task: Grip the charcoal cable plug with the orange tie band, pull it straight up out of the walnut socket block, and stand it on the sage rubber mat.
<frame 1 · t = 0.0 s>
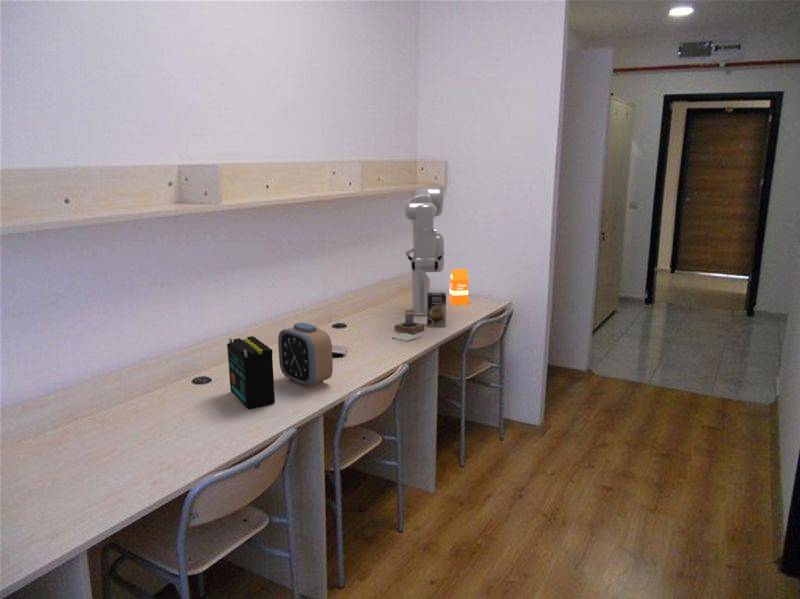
hand: (424, 270, 276), 31 cm above the table, tool pointing down, fingers open, 9 cm apart
coffee box: (436, 325, 302), on the table
socket block: (409, 330, 293), on the table
plug: (409, 331, 293), resting in socket block
alarm clock: (306, 382, 227), on the table
orange juice: (458, 304, 346), on the table
battery: (252, 398, 213), on the table
mat: (405, 337, 282), on the table
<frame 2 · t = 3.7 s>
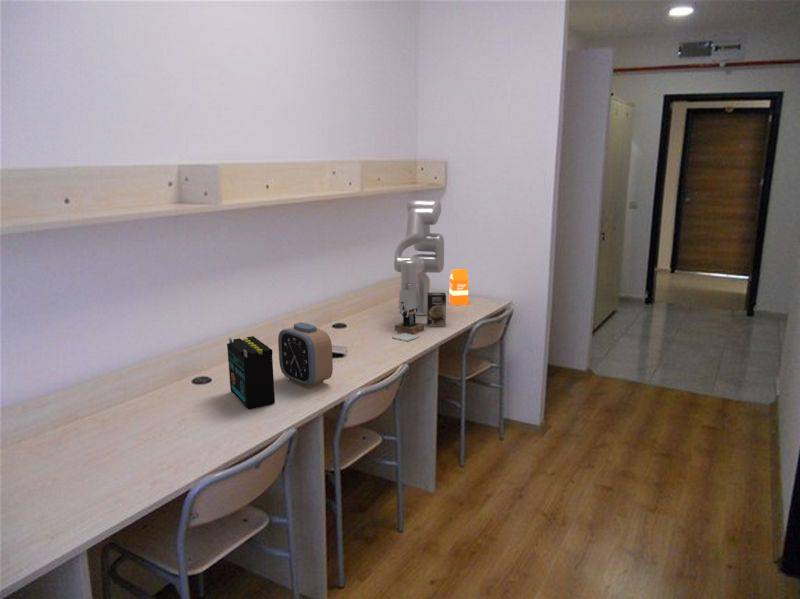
hand: (409, 323, 292), 4 cm above the table, tool pointing down, fingers closed on plug, 4 cm apart
plug: (409, 331, 293), resting in socket block, touching gripper
everything else where it was.
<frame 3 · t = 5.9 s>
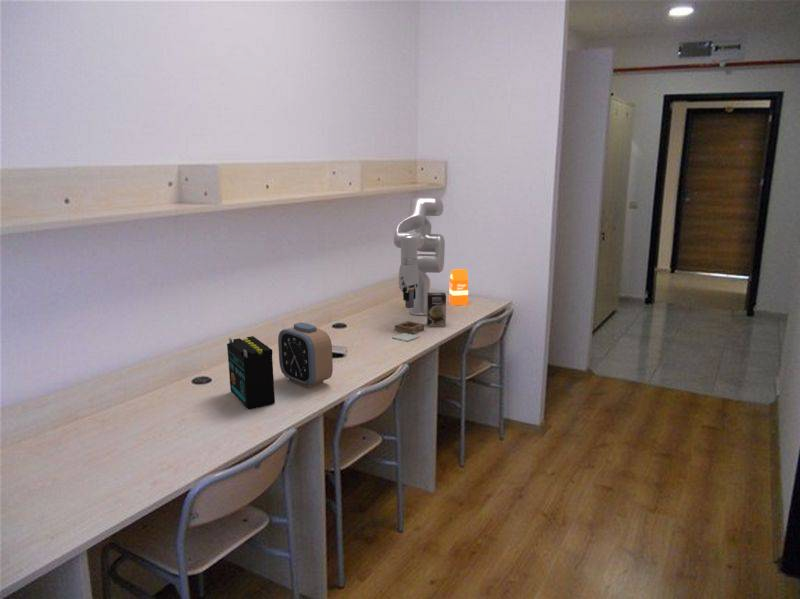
hand: (409, 299, 290), 16 cm above the table, tool pointing down, fingers closed on plug, 4 cm apart
plug: (409, 307, 291), point 12 cm above the table, touching gripper
everything else where it was.
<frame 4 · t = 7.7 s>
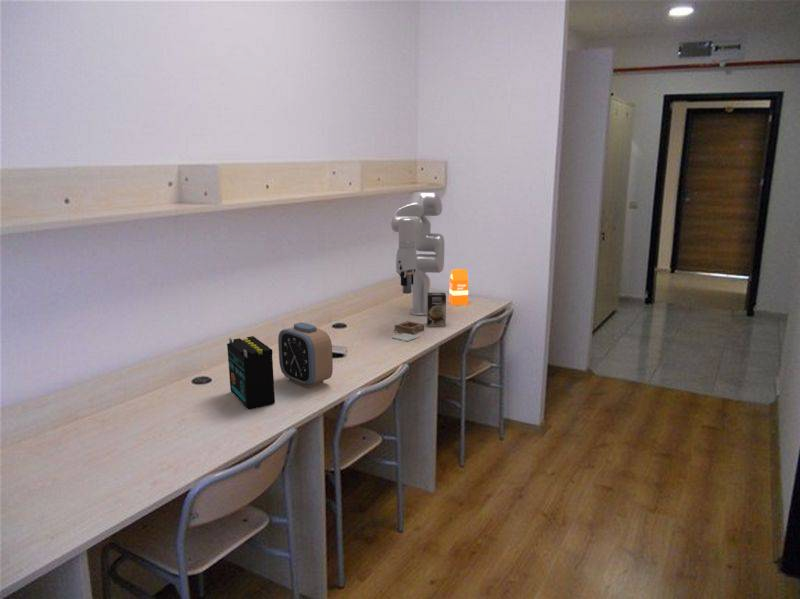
hand: (407, 284, 281), 24 cm above the table, tool pointing down, fingers closed on plug, 4 cm apart
plug: (407, 292, 282), point 20 cm above the table, touching gripper
everything else where it was.
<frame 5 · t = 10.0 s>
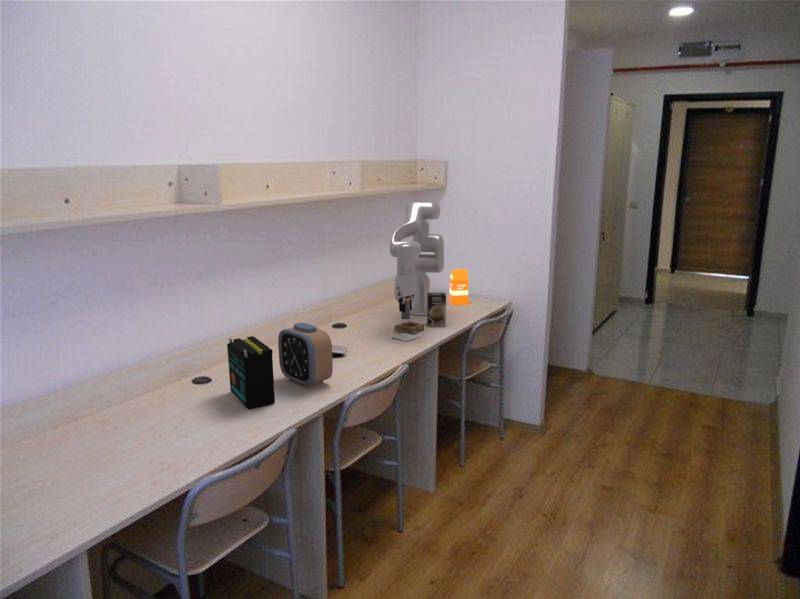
hand: (405, 310, 279), 13 cm above the table, tool pointing down, fingers closed on plug, 4 cm apart
plug: (405, 318, 279), point 9 cm above the table, touching gripper
everything else where it was.
when the fingers open (6 cm above the table, at t = 12.1 s): plug drops 2 cm, resting on mat.
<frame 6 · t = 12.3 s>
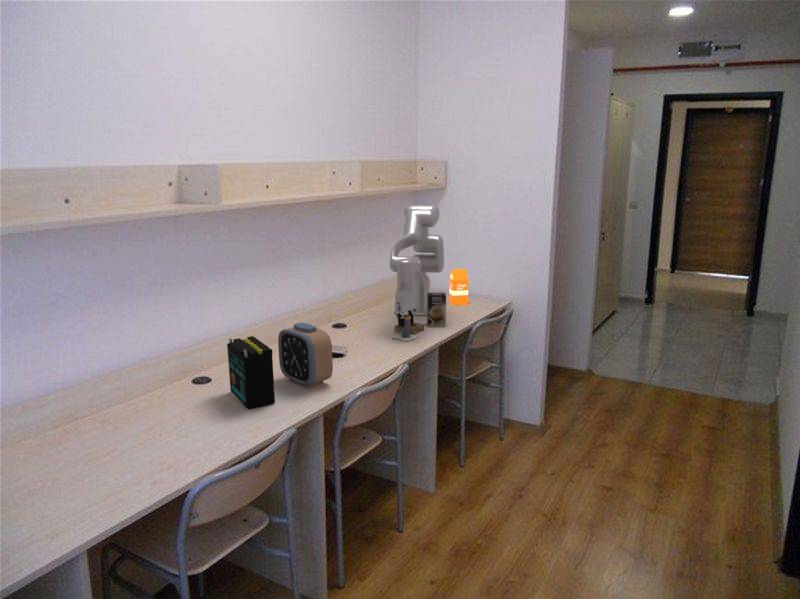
hand: (405, 324, 280), 6 cm above the table, tool pointing down, fingers open, 6 cm apart
plug: (405, 336, 282), point 1 cm above the table, touching mat
everything else where it was.
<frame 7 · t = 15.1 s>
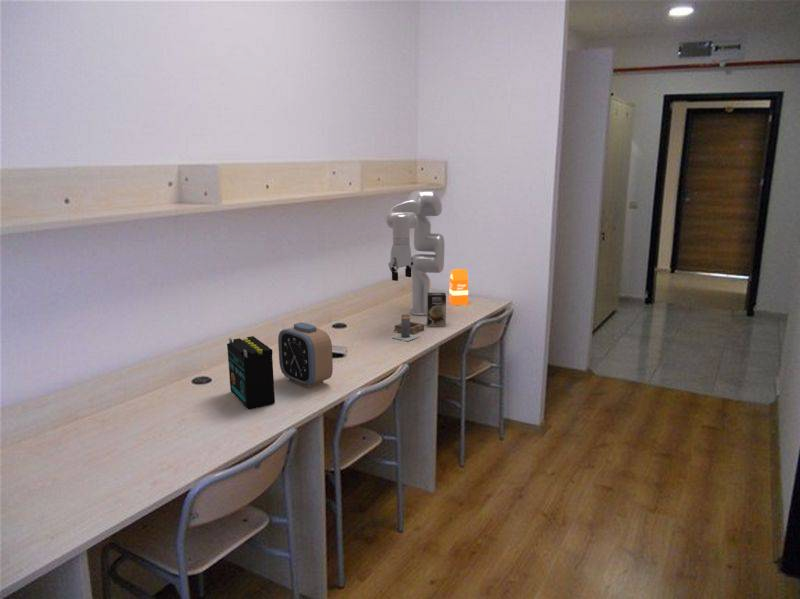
hand: (401, 278, 280), 27 cm above the table, tool pointing down, fingers open, 9 cm apart
nothing on the table moved.
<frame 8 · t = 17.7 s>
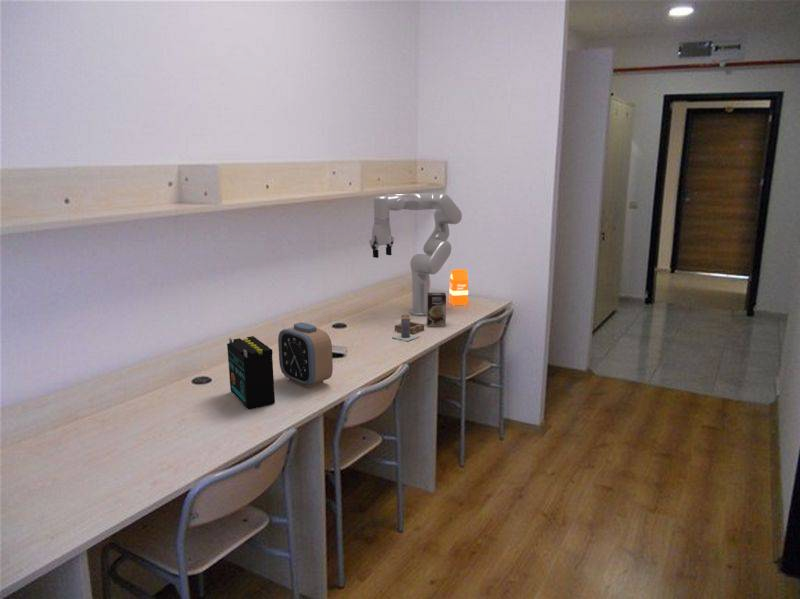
hand: (382, 256, 304), 33 cm above the table, tool pointing down, fingers open, 9 cm apart
nothing on the table moved.
at the end: plug inside the target area on the mat (0.1 cm from its centre), point 0.6 cm above the mat's base; plug tilted 0°; the gripper is holding nothing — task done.
